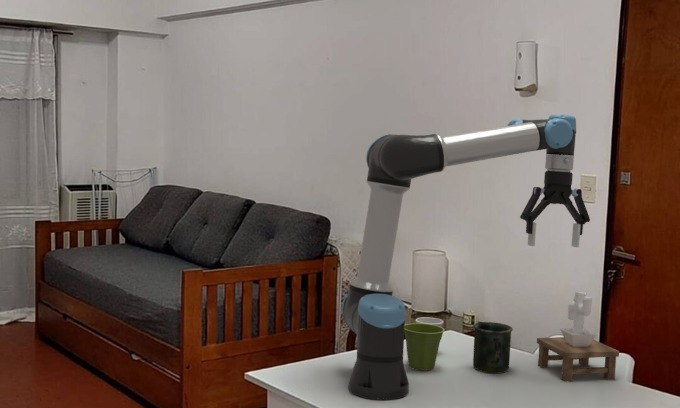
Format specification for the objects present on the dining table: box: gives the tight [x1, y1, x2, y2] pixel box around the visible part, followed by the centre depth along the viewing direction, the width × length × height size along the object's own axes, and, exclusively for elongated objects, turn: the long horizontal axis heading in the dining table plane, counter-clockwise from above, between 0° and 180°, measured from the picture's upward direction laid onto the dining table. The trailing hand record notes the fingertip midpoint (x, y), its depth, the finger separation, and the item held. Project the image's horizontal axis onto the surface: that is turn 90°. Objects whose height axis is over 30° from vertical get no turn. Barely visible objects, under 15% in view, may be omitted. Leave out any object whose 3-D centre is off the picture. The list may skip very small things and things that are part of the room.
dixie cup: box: [415, 316, 444, 328], centre depth 227 cm, size 8×8×10 cm
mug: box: [472, 321, 514, 374], centre depth 212 cm, size 11×15×12 cm
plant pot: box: [404, 322, 446, 372], centre depth 212 cm, size 12×12×11 cm
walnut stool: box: [536, 336, 620, 383], centre depth 213 cm, size 16×16×8 cm
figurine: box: [559, 290, 597, 347], centre depth 211 cm, size 7×9×15 cm
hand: (553, 246), depth 213 cm, fingers open, 13 cm apart
